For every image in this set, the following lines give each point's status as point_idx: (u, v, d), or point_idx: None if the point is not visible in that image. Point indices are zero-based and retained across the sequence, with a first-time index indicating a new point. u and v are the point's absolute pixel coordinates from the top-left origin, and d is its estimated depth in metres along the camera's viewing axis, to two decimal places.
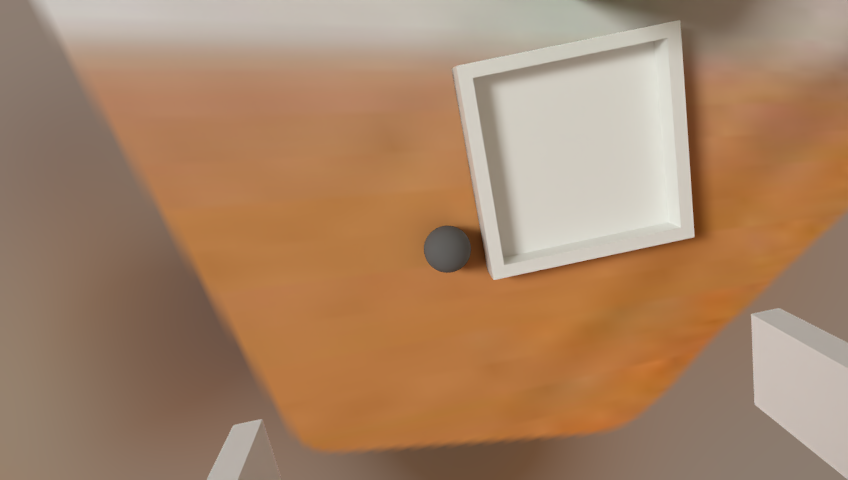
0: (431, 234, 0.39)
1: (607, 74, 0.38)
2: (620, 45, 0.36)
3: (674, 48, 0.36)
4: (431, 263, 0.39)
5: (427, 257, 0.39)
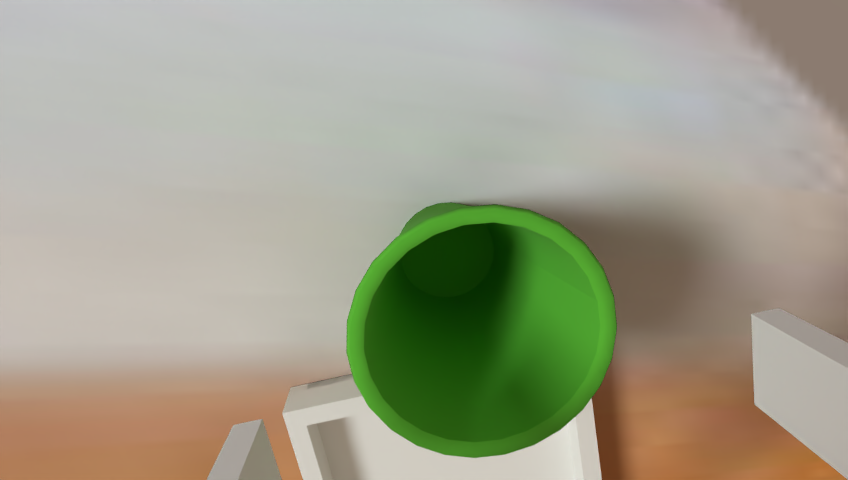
0: None
1: None
2: None
3: None
4: None
5: None
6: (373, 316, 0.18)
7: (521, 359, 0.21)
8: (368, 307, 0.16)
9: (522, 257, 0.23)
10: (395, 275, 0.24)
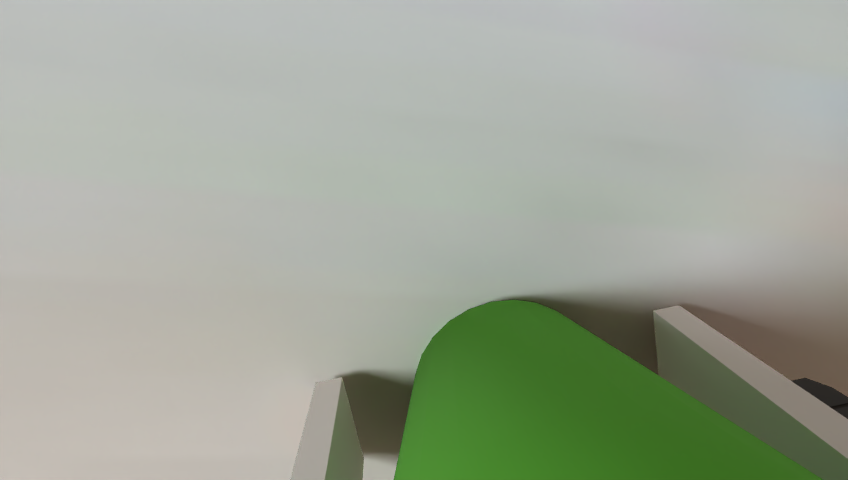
0: None
1: None
2: None
3: None
4: None
5: None
6: None
7: None
8: None
9: None
10: None
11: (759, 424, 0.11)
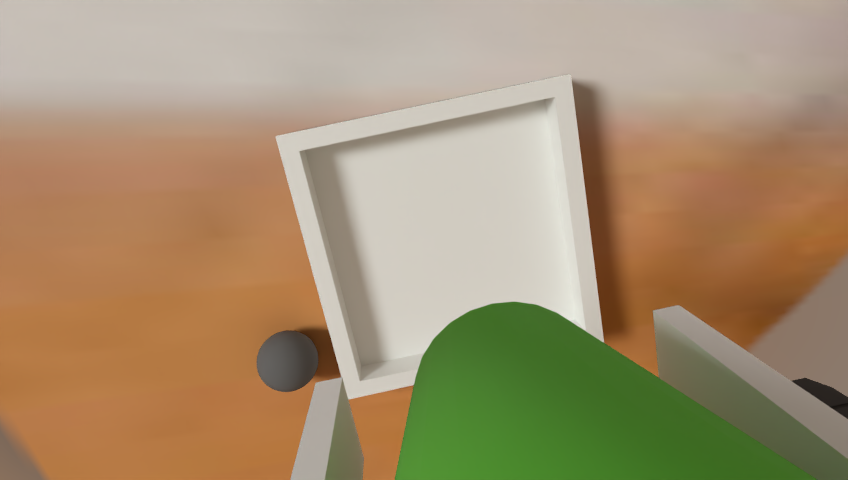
0: (264, 344, 0.30)
1: (486, 139, 0.30)
2: (493, 107, 0.28)
3: (565, 110, 0.28)
4: (263, 381, 0.30)
5: (259, 374, 0.30)
6: None
7: None
8: None
9: None
10: None
11: (759, 424, 0.11)
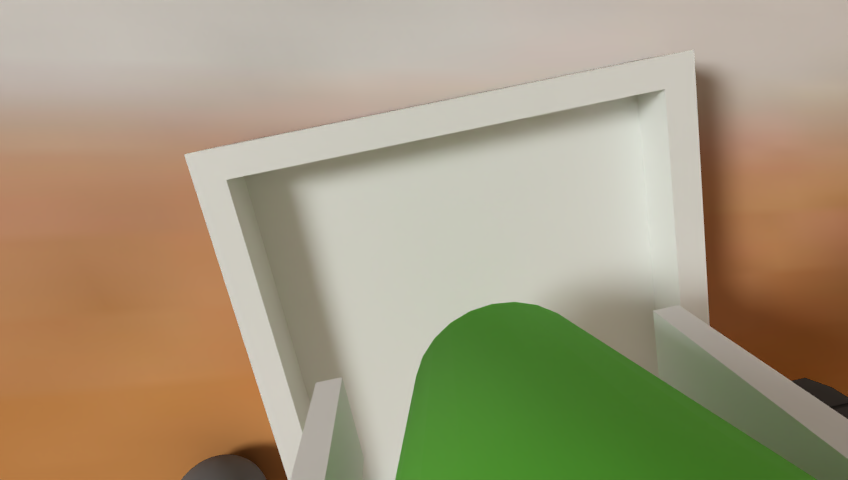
0: None
1: (539, 159, 0.18)
2: (560, 106, 0.16)
3: (680, 112, 0.16)
4: None
5: None
6: None
7: None
8: None
9: None
10: None
11: (759, 424, 0.11)
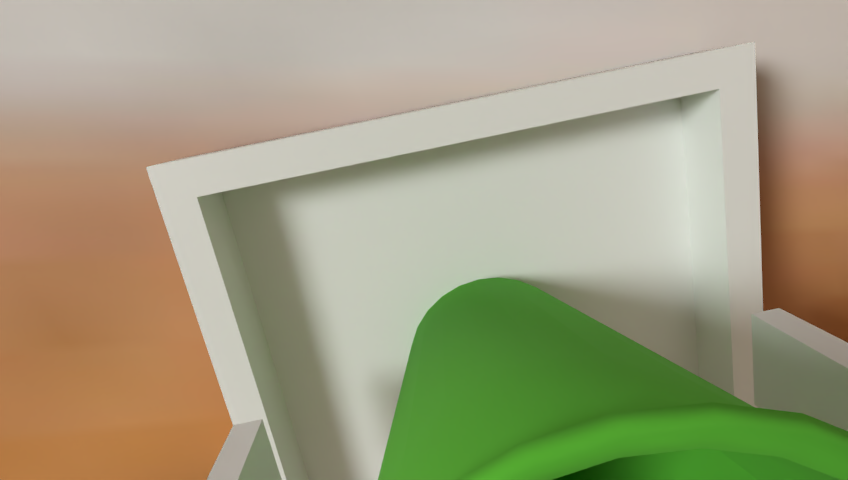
0: None
1: (566, 170, 0.16)
2: (594, 109, 0.14)
3: (737, 116, 0.14)
4: None
5: None
6: None
7: None
8: None
9: None
10: None
11: None
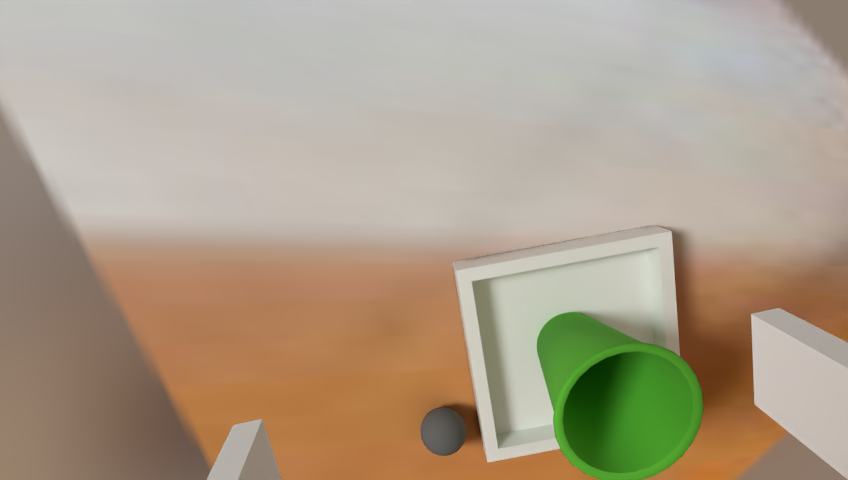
0: (428, 418, 0.40)
1: (601, 270, 0.40)
2: (614, 253, 0.38)
3: (666, 256, 0.38)
4: (427, 447, 0.40)
5: (423, 441, 0.40)
6: None
7: (635, 422, 0.34)
8: (567, 395, 0.30)
9: (630, 355, 0.36)
10: None
11: None
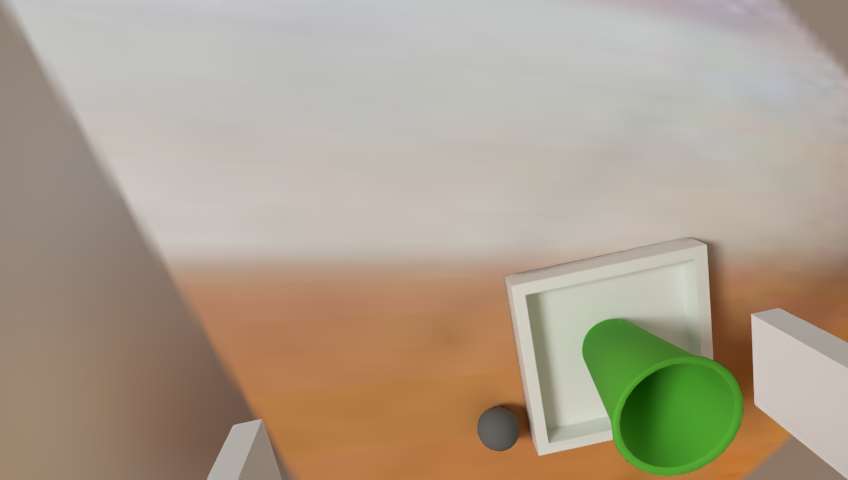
0: (484, 418, 0.44)
1: (641, 279, 0.43)
2: (654, 266, 0.41)
3: (701, 267, 0.42)
4: (485, 444, 0.44)
5: (481, 438, 0.44)
6: None
7: (678, 420, 0.38)
8: (624, 403, 0.34)
9: None
10: None
11: None
